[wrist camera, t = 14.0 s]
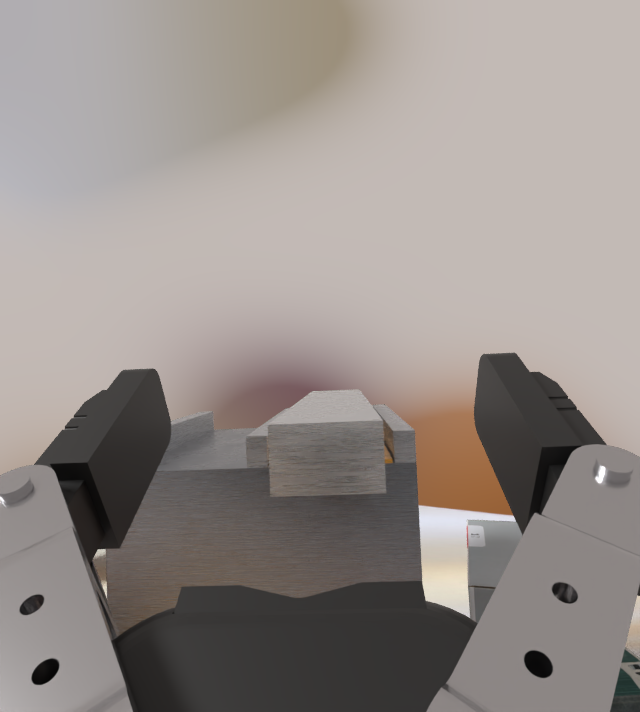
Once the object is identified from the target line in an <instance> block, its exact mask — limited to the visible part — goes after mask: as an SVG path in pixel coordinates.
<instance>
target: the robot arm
mask: <svg viewBox="0 0 640 712" xmlns="http://www.w3.org/2000/svg"><path fill="white" fill-rule="evenodd" d="M474 419H475V426H476V430H477V433H478V435H479V438H480V440H481V442H482V445H483V447H484V449H485V451H486V454H487V456H488V458H489V461H490V463H491V465H492V467H493V469H494V472H495V474H496V476H497V478H498V481H499V483H500V485H501V488H502V490H503V492H504V494H505V497H506V499H507V501H508V503H509V506H510V508H511V511H512V513H513V515H514V517H515V520H516V522H517V524H518V526H519V529H520V531H521V533H522V535H523V536H522V538H521V539H520V541H519V543H518V545H517V547H516V549H515V551H514V553H513V555H512V557H511V559H510V561H509V563H508V565H507V567H506V569H505V571H504V573H503V575H502V577H501V579H500V581H499V583H498V585H497V587H496V589H495V591H494V593H493V595H492V597H491V598H490V600H489V602H488V604H487V606H486V608H485V610H484V612H483V614H482V616H481V618H480V620H479V622H478V623H477V622H475V621H474V620H472V619H470V618H469V617H467V616H465V615H463V614H461V613H459V612H457V611H455V610H453V609H450V608H448V607H445V606H442V605H439V604H436V603H432V602H428V601H425V596H424V590H423V585H422V581H395V582H361V583H357V584H353V585H350V586H346V587H342V588H338V589H335V590H331V591H327V592H323V593H320V594H316V595H312V596H308V597H304V598H294V597H289V596H285V595H280V594H276V593H271V592H267V591H263V590H258V589H254V588H250V587H245V586H241V585H227V586H185V587H181V590H180V594H179V597H178V600H177V604H176V607H175V608H171V609H168V610H165V611H163V612H160V613H157V614H155V615H153V616H151V617H149V618H147V619H145V620H143V621H141V622H139V623H137V624H136V625H134V626H132V627H131V628H129V629H128V630H126V631H125V632H123V633H122V634H121V635H120V633H119V631H118V628H117V625H116V623H115V620H114V617H113V614H112V612H111V609H110V606H109V603H108V601H107V598H106V595H105V592H104V590H103V587H102V584H101V581H100V579H99V576H98V573H97V570H96V568H95V565H94V563H93V561H92V559H93V557H94V556H95V554H96V552H97V550H98V549H119V548H120V547H121V545H122V543H123V541H124V539H125V536H126V534H127V532H128V530H129V528H130V526H131V524H132V522H133V519H134V517H135V515H136V513H137V511H138V509H139V507H140V505H141V502H142V500H143V498H144V496H145V494H146V492H147V490H148V488H149V485H150V483H151V481H152V479H153V477H154V475H155V473H156V471H157V468H158V466H159V464H160V462H161V460H162V458H163V456H164V454H165V451H166V449H167V447H168V445H169V442H170V438H171V421H170V416H169V412H168V408H167V405H166V401H165V397H164V393H163V389H162V385H161V382H160V378H159V375H158V373H157V371H156V370H155V369H135V370H123V371H121V373H120V374H119V375H118V377H117V378H116V379H115V380H114V381H113V383H112V384H111V385H110V387H109V388H108V389H107V390H102V391H101V392H99V393H98V394H96V395H95V396H93V397H92V398H90V399H89V400H87V401H86V402H85V403H84V404H83V405H82V406H81V408H80V409H79V410H78V411H77V412H76V414H75V415H74V418H72V419H71V420H70V421H69V422H68V423H67V425H66V426H65V430H62V431H61V432H60V433H59V435H58V436H57V437H56V438H55V439H54V441H53V442H52V443H51V444H50V446H49V447H48V448H47V449H46V450H45V452H44V453H43V454H42V455H41V457H40V458H39V459H38V460H37V462H36V463H35V464H34V465H29V466H24V467H20V468H17V469H14V470H11V471H9V472H7V473H4V474H2V475H0V712H610V709H611V705H612V701H613V696H614V692H615V688H616V684H617V679H618V675H619V671H620V666H621V662H622V658H623V653H624V649H625V645H626V641H627V636H628V632H629V628H630V623H631V619H632V615H633V611H634V606H635V602H636V598H637V595H638V596H640V457H639V456H637V455H635V454H633V453H631V452H629V451H626V450H624V449H621V448H617V447H614V446H608V445H606V443H605V442H604V441H603V440H602V438H601V437H600V436H599V435H598V433H597V432H596V431H595V430H594V428H593V427H592V426H591V425H590V423H589V422H588V421H587V420H586V419H585V417H584V416H583V415H582V413H581V412H580V411H579V410H577V408H576V406H575V405H574V404H573V402H572V401H571V400H570V399H568V396H567V395H566V393H565V392H564V391H563V390H562V388H561V387H560V386H559V385H558V383H556V382H555V381H553V380H551V379H550V378H548V377H547V376H545V375H543V374H542V373H540V372H529V370H528V369H527V368H526V366H525V365H524V364H523V362H522V361H521V359H520V358H519V357H518V356H517V354H516V353H501V354H499V353H498V354H483V355H482V356H481V358H480V362H479V369H478V378H477V388H476V397H475V407H474Z"/></svg>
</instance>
